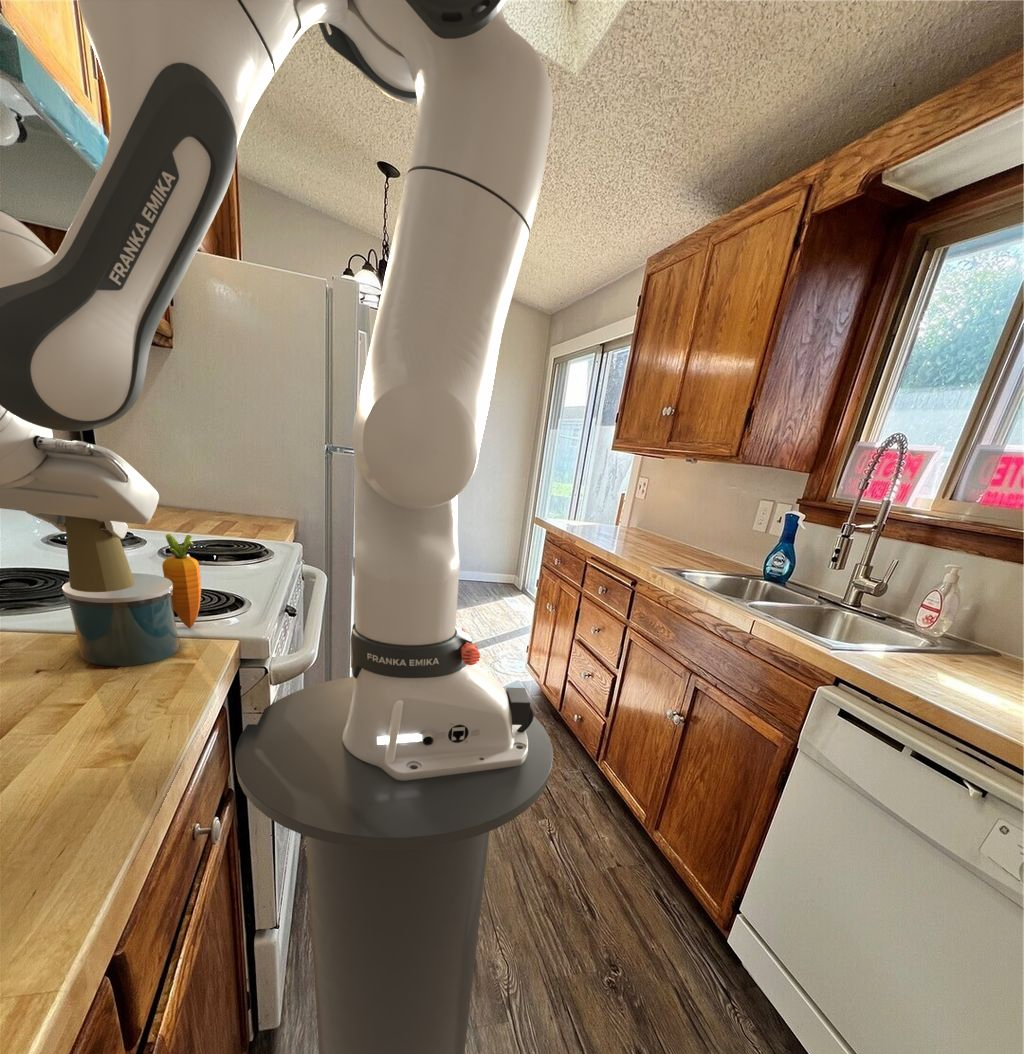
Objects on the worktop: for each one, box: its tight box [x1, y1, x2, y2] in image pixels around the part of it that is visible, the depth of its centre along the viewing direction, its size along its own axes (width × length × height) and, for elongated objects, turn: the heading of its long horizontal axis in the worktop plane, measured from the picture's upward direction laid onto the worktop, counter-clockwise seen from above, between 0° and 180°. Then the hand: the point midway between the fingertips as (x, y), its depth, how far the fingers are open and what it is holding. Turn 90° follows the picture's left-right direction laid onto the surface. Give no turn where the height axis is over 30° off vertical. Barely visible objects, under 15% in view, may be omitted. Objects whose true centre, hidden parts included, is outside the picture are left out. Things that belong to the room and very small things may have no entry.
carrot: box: [161, 533, 202, 629], centre depth 86 cm, size 5×5×15 cm
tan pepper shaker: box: [65, 516, 135, 592], centre depth 61 cm, size 6×6×11 cm
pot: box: [61, 572, 180, 667], centre depth 77 cm, size 12×12×10 cm
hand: (96, 530), depth 61 cm, fingers closed on tan pepper shaker, 4 cm apart
